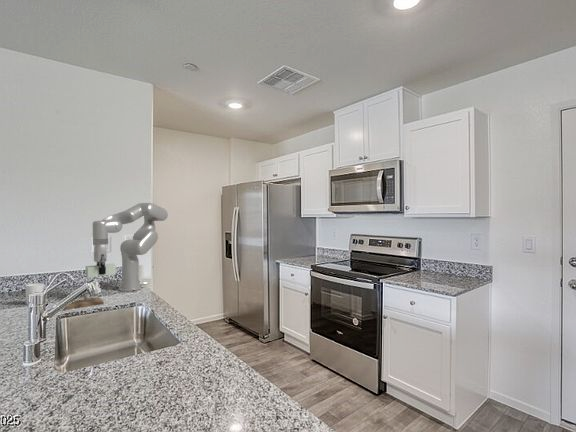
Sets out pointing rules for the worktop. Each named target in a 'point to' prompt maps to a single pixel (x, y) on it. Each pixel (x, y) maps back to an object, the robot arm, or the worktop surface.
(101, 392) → the worktop surface
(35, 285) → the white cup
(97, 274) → the housing
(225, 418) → the worktop surface
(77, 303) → the stub board
